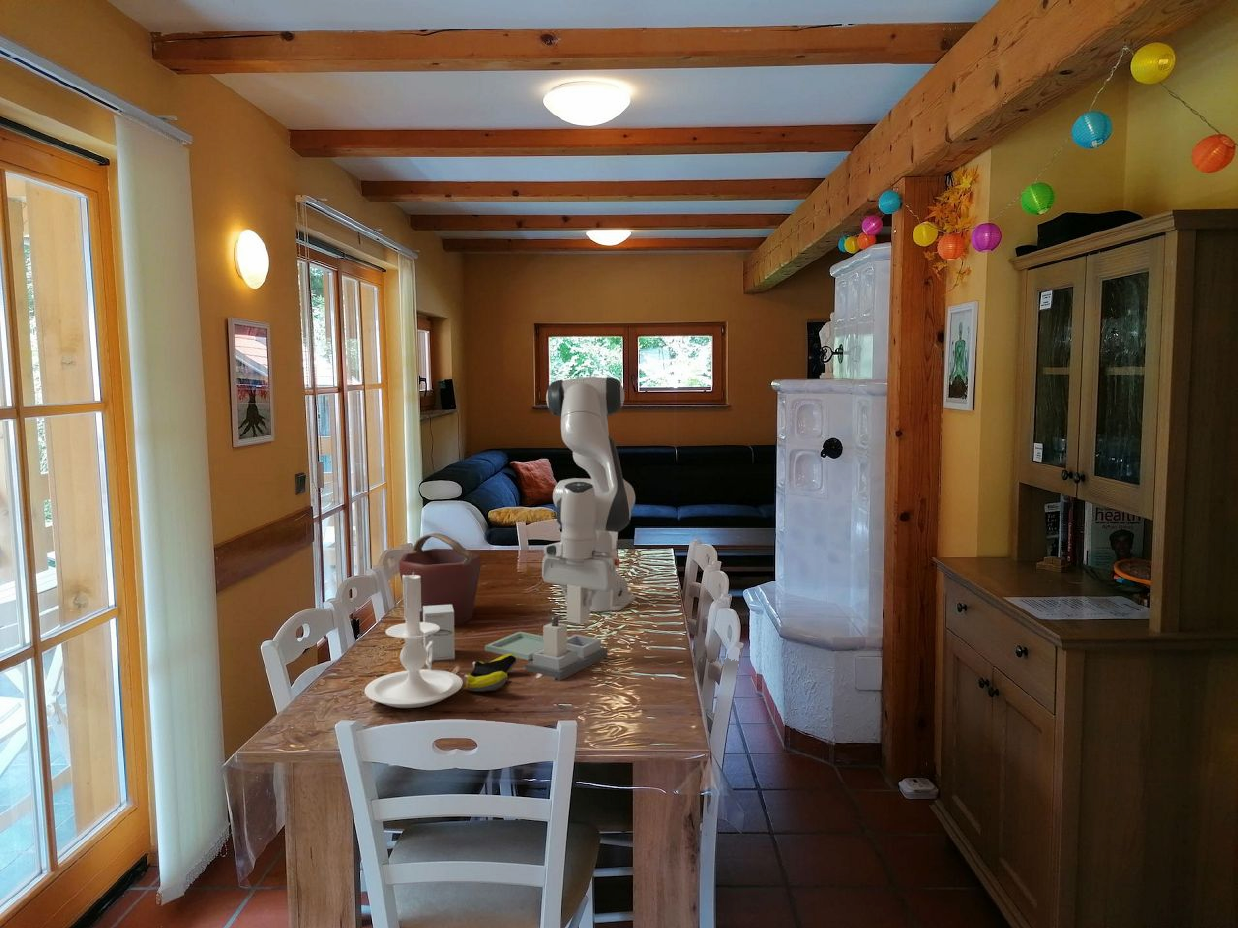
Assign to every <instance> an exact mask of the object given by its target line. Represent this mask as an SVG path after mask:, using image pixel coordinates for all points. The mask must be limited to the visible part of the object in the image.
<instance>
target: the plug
mask: <svg viewBox="0 0 1238 928" xmlns="http://www.w3.org/2000/svg"><path fill="white" fill-rule="evenodd" d="M588 594H589V593H587V589H584V588H581V587H576V586H570V585H567V603H566V622H569V623H574V624H578V625H579V624H580V625H581V624H584V623H586V622H588V621H590V619H591V618H590V615H591V614H590V613H591V611H590V607H586V606H584V605H583V603H584V602H583V599H586V598H587V596H588Z"/></svg>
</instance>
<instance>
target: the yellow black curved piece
mask: <svg viewBox="0 0 1238 928" xmlns="http://www.w3.org/2000/svg"><path fill="white" fill-rule="evenodd" d="M516 664H517V658H516V657H515V655H513V654H505V655H503V654H502V655H501V656H499V657H497V658H495V659H493V660H491V661H488V662H482V661H481V660H478V661H477V660H475V661H472V663H471V665H472V668H473V670H472V671H471V672H470V674H469V673H468V674H465V675H464V678H465V688H466V689H467V690H468V691H469V692H478V693H479V692H482V693H483V692H491V691H496V690H498V689H500V688H501V687H502V686H504V684H506V682H507V681H508V680H509V677H508V673H509V672H510V671H511V670H512V669H513V667H514V666H515V665H516Z"/></svg>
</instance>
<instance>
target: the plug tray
mask: <svg viewBox="0 0 1238 928" xmlns="http://www.w3.org/2000/svg"><path fill="white" fill-rule="evenodd" d="M542 649H543V635H538V634H534V633H533V634H532V633H529V632H523V631H517V632H515V633H513V634H510V635H508V636H506V637H502V638H501V639H498V640H495V641H493V642H490V643H488V644H486V645H484V651H485V652H491V653H495V654H499V655H502V656H503V655H505V654H513V655H515V657H516V659H521V660H526V661H530V660H533V653H536V652H538V651H540V650H542Z"/></svg>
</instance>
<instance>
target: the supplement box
mask: <svg viewBox="0 0 1238 928" xmlns="http://www.w3.org/2000/svg"><path fill="white" fill-rule="evenodd" d="M423 622H428V623H433V624H436V625H438V626H439V627H440V630H439V631H438V632H436V633H434V634H431V635H428V636H424V637H422V641H423V642H422V645H423V646H424V647H425V649H426V646H427V645H428V644H429V642H430V641H433V659H432V663H435V661H445V660H455V658H456V653H455V652H456V650H455V649H456V648H455V647H456V646H455V627H454V610H453V606H452V604H451V605H435V606H423ZM428 657H429V656H428Z"/></svg>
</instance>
